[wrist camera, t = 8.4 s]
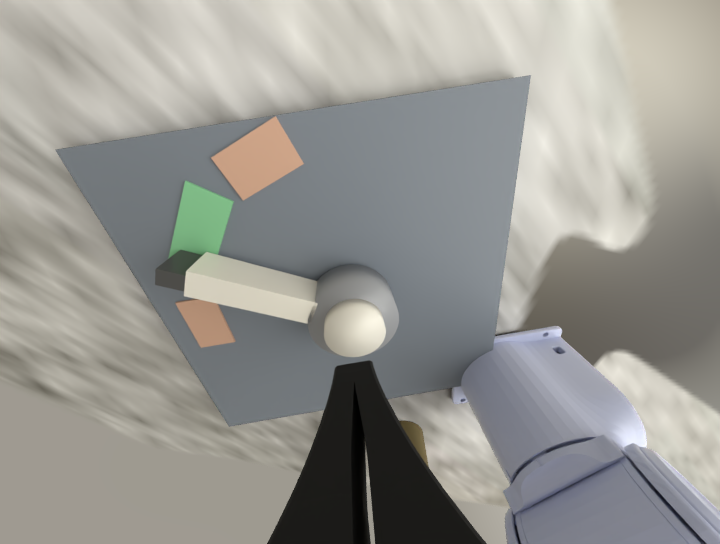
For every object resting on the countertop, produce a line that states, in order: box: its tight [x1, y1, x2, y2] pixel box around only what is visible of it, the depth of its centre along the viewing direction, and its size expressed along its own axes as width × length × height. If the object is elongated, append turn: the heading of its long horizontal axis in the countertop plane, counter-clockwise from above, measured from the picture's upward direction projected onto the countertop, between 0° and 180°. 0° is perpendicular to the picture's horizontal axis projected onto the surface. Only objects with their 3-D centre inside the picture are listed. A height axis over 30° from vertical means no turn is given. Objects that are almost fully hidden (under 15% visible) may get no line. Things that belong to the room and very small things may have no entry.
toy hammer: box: [155, 250, 399, 357], centre depth 16 cm, size 14×6×4 cm, turn 70°
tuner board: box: [56, 75, 531, 426], centre depth 19 cm, size 24×23×1 cm
